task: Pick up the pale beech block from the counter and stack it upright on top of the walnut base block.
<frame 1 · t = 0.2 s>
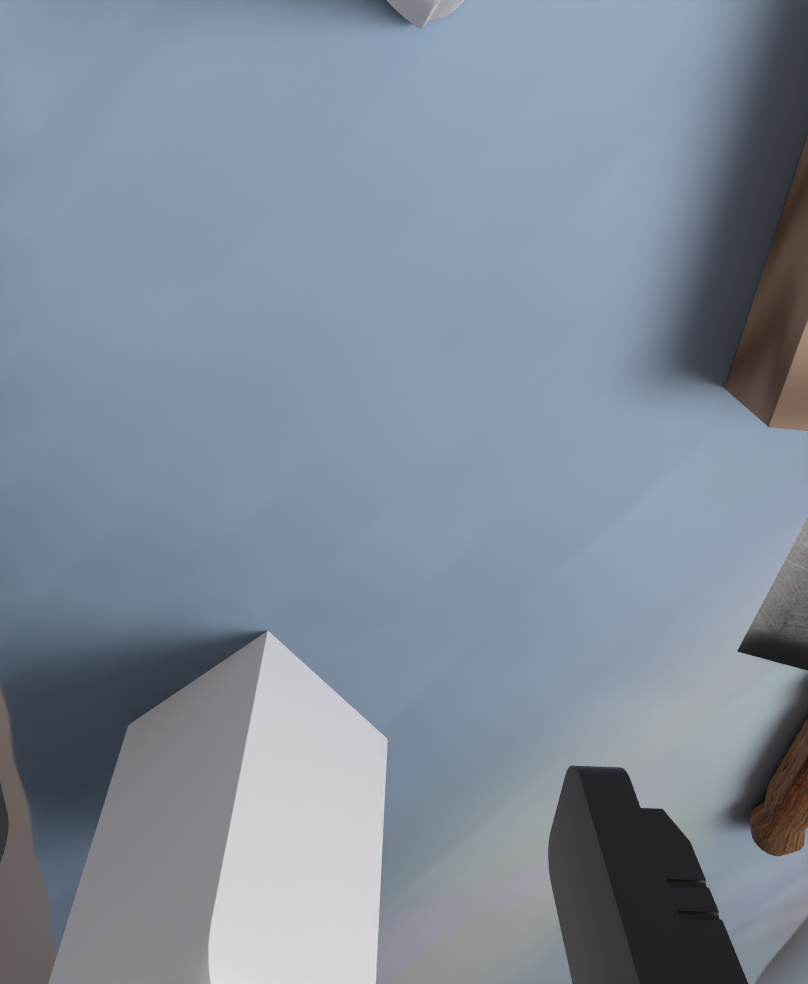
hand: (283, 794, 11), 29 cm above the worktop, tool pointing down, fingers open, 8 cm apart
milk: (259, 729, 50), on the worktop
meat cleaver: (806, 627, 47), on the worktop
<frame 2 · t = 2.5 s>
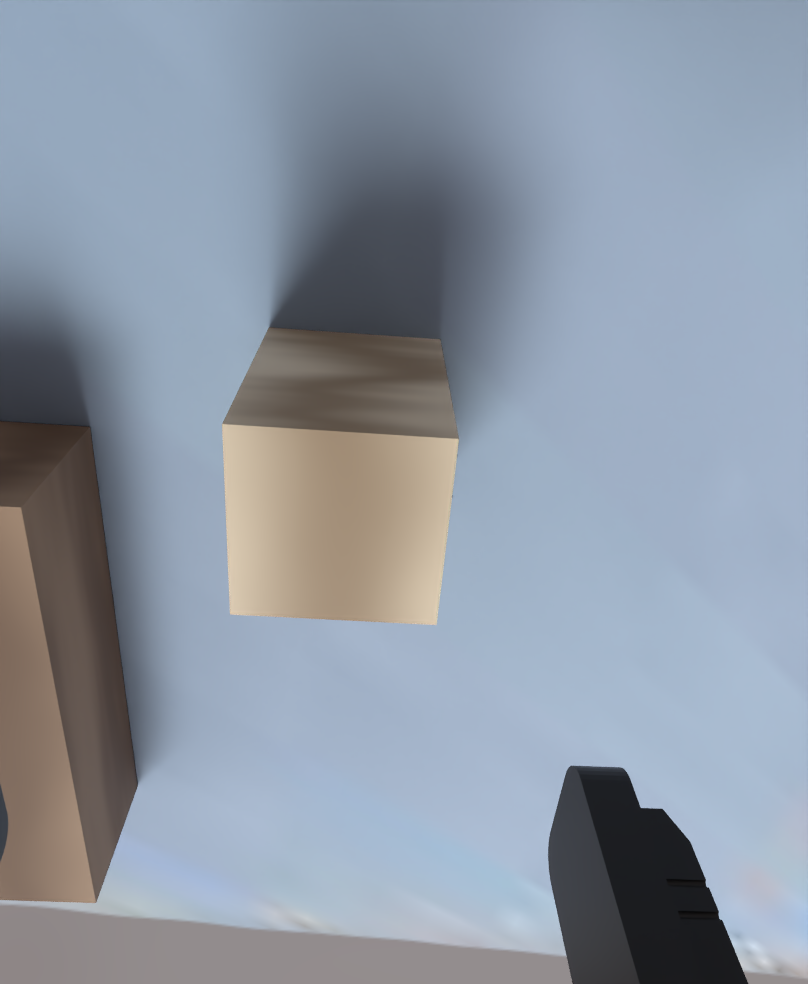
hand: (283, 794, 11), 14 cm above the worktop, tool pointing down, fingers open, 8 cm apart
beech block: (351, 412, 23), on the worktop
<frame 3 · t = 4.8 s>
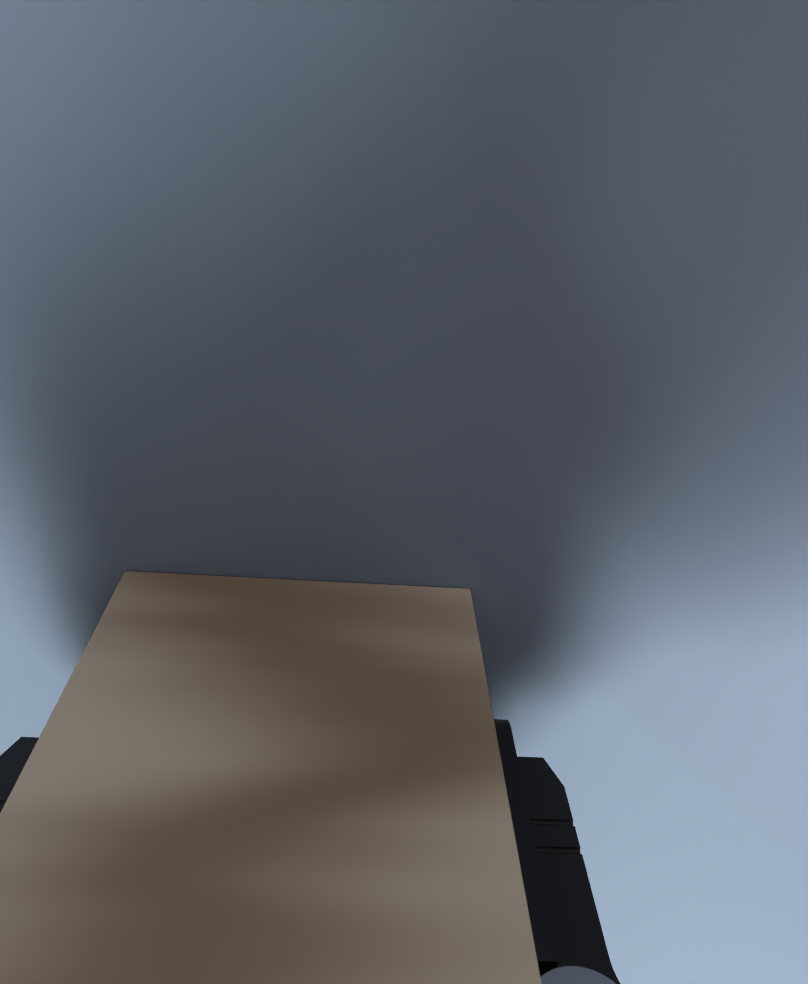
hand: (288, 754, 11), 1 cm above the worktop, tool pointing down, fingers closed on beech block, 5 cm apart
beech block: (297, 707, 12), on the worktop, touching gripper
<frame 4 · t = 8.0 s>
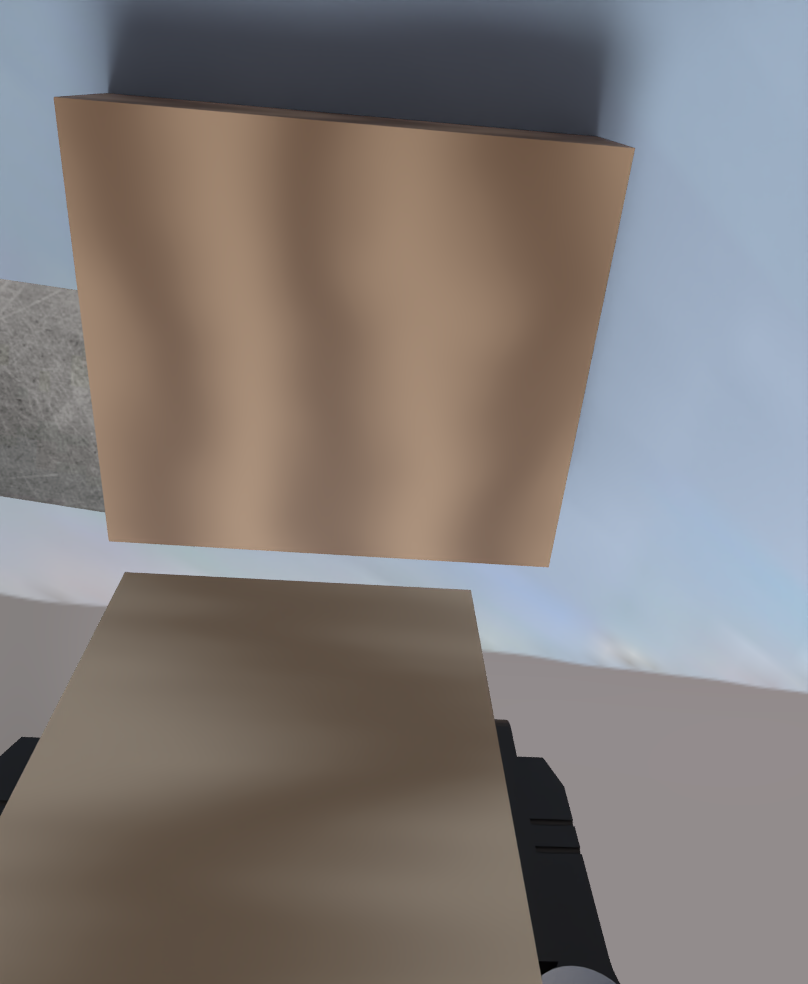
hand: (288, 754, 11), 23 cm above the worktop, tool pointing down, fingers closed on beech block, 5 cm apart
walnut base: (346, 328, 32), on the worktop
beech block: (297, 709, 12), point 22 cm above the worktop, touching gripper
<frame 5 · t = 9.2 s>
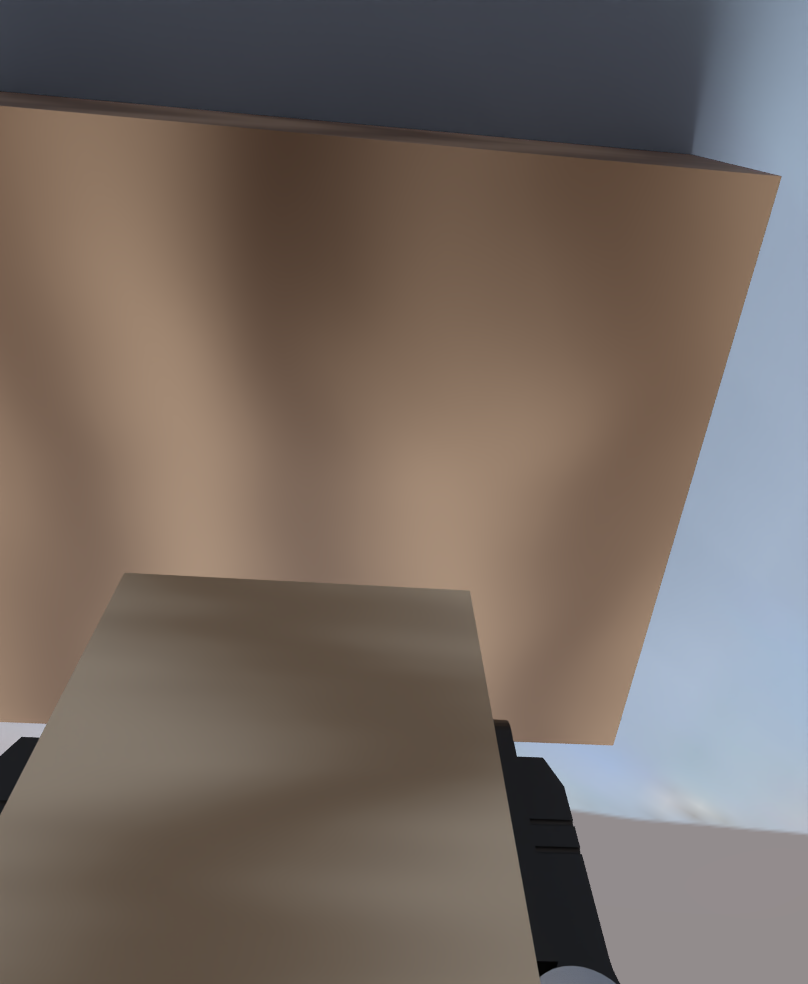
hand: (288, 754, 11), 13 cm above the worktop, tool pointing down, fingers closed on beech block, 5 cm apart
walnut base: (333, 416, 23), on the worktop
beech block: (296, 709, 12), point 12 cm above the worktop, touching gripper
when the fingers open (7 cm above the worktop, at t = 11.3 s): beech block drops 1 cm, resting on walnut base.
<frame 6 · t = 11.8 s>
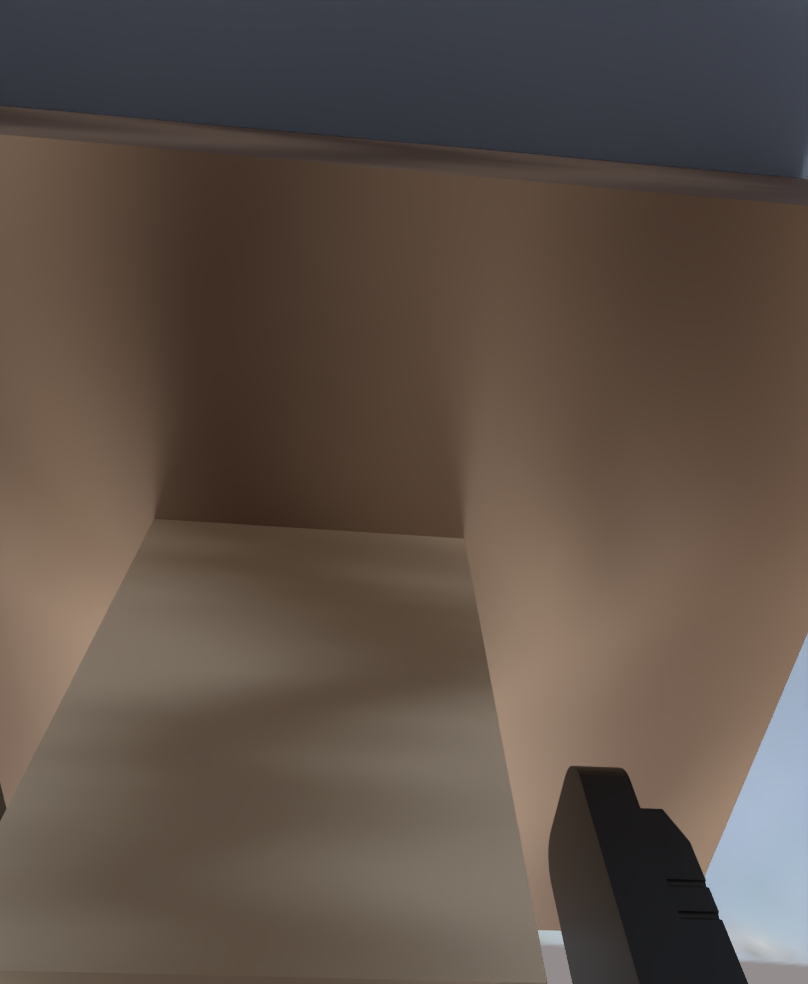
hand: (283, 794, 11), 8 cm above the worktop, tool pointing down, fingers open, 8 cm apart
walnut base: (321, 509, 18), on the worktop
beech block: (306, 649, 14), point 5 cm above the worktop, touching walnut base
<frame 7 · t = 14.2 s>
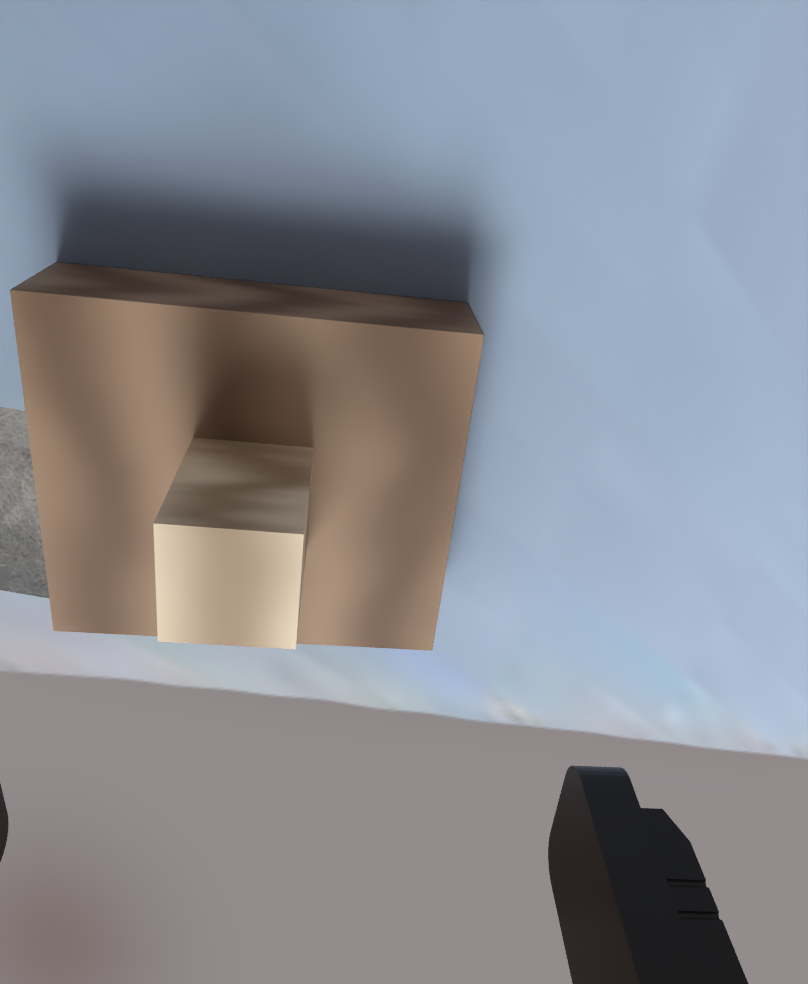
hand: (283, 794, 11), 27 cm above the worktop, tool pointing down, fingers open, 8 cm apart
walnut base: (263, 446, 37), on the worktop
beech block: (252, 495, 33), point 5 cm above the worktop, touching walnut base
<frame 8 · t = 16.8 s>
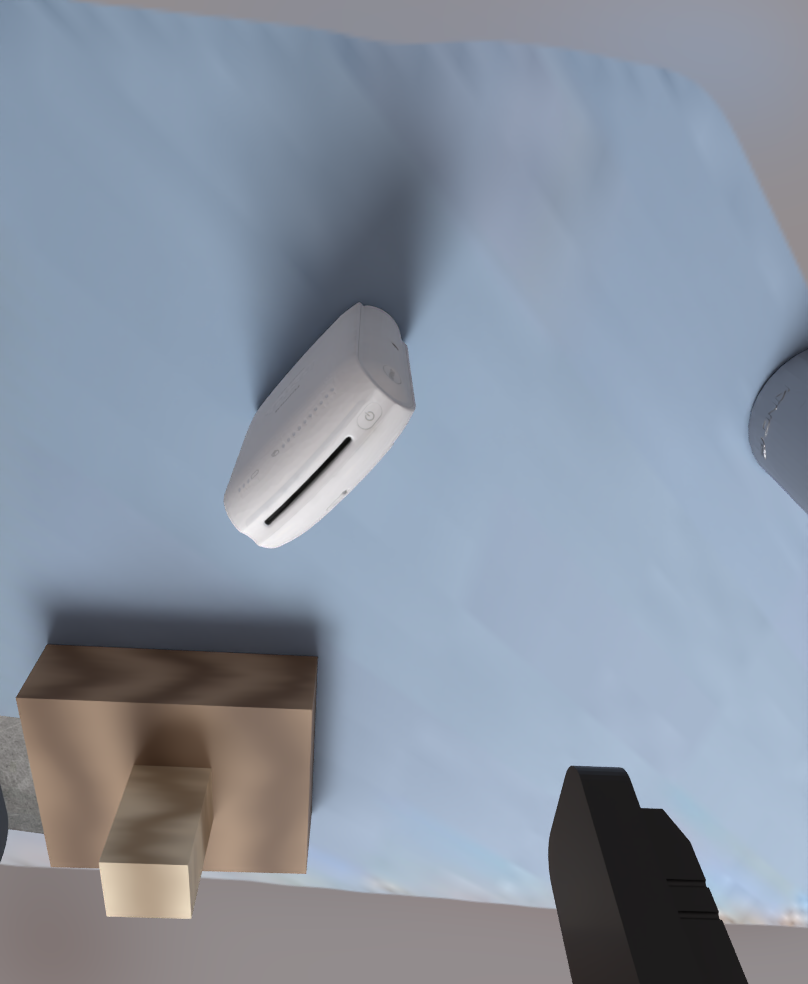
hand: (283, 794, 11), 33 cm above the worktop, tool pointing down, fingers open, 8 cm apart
walnut base: (189, 736, 55), on the worktop
beech block: (174, 793, 51), point 5 cm above the worktop, touching walnut base
photo printer: (329, 377, 43), on the worktop
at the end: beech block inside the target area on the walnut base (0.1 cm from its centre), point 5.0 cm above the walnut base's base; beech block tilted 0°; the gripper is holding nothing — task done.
